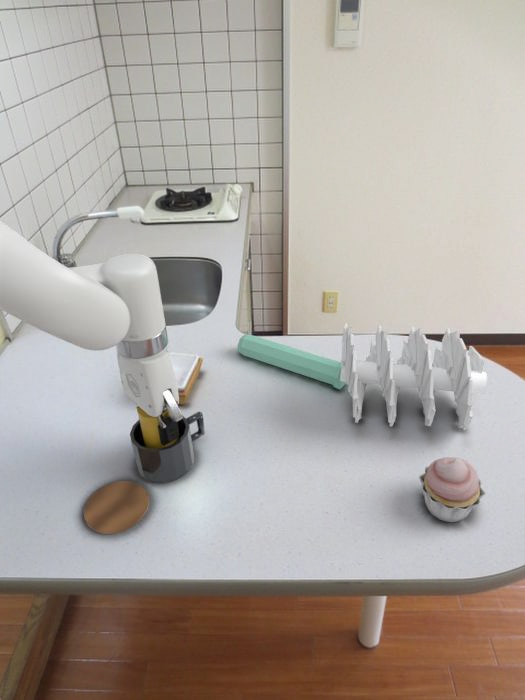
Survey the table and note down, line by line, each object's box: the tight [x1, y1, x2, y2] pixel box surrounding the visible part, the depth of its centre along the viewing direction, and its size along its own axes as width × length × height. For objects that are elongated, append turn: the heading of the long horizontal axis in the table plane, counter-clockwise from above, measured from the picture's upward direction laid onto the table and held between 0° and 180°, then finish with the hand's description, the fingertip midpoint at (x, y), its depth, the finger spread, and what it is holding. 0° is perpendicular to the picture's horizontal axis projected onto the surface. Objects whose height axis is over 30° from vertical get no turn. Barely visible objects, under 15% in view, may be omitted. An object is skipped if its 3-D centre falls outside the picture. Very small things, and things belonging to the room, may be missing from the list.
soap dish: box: [168, 351, 204, 405], centre depth 106 cm, size 12×10×5 cm
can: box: [136, 403, 179, 449], centre depth 87 cm, size 6×6×12 cm
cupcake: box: [418, 456, 486, 523], centre depth 78 cm, size 9×9×10 cm
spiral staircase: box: [340, 322, 488, 431], centre depth 93 cm, size 18×18×25 cm
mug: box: [129, 411, 206, 484], centre depth 89 cm, size 13×10×8 cm
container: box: [237, 333, 346, 390], centre depth 110 cm, size 6×6×25 cm
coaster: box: [83, 480, 150, 535], centre depth 83 cm, size 10×10×1 cm
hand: (159, 429), depth 86 cm, fingers closed on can, 5 cm apart
